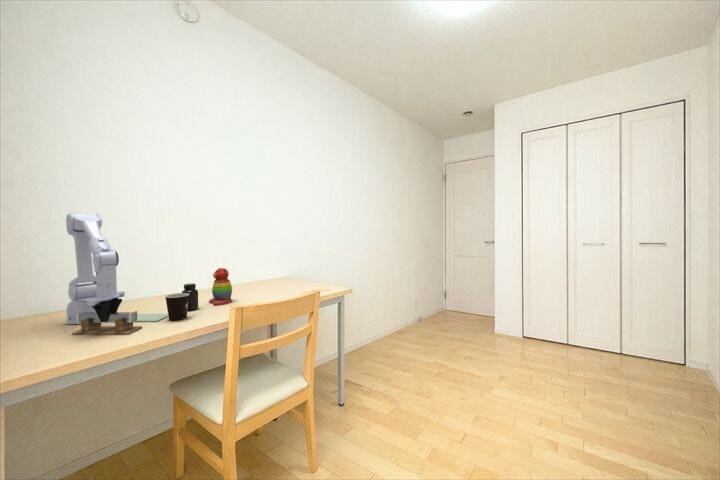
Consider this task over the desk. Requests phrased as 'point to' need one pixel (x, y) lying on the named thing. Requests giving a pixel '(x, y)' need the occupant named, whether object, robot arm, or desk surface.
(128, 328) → the stand
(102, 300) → the robot arm
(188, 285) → the supplement bottle
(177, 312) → the coffee mug
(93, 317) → the rail
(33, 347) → the desk surface
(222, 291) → the stacking bear
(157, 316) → the mat
